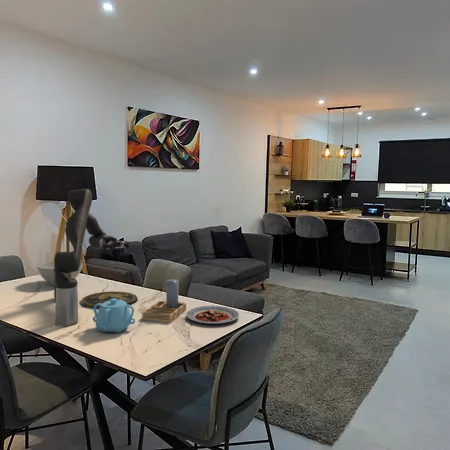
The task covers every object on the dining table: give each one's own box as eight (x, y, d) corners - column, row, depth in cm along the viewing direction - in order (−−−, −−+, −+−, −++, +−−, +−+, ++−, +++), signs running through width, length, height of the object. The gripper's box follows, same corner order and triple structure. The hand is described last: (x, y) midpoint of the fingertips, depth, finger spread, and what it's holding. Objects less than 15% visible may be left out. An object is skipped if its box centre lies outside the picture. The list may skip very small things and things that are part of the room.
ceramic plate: (217, 331, 182) (217, 325, 182) (175, 319, 198) (175, 313, 197) (249, 317, 203) (249, 311, 203) (209, 306, 218) (209, 301, 218)
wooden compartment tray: (171, 322, 192) (171, 315, 192) (142, 319, 196) (142, 312, 195) (186, 310, 211) (186, 303, 211) (159, 307, 215) (159, 300, 215)
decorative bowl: (74, 276, 279) (74, 259, 278) (89, 284, 258) (89, 265, 257) (32, 282, 262) (31, 263, 261) (45, 291, 241) (44, 271, 240)
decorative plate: (127, 307, 208) (70, 304, 211) (127, 311, 208) (70, 308, 211) (144, 292, 238) (94, 290, 241) (144, 295, 238) (94, 293, 241)
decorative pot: (91, 326, 186) (90, 297, 184) (125, 320, 194) (125, 292, 193) (100, 338, 172) (99, 306, 171) (137, 331, 180) (137, 301, 179)
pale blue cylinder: (175, 312, 204) (176, 282, 202) (164, 310, 205) (164, 281, 204) (179, 308, 209) (180, 280, 208) (168, 307, 211) (169, 278, 209)
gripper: (95, 236, 219) (107, 240, 206) (121, 235, 227) (133, 238, 214) (96, 250, 219) (107, 255, 207) (121, 248, 228) (133, 252, 215)
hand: (120, 246), depth 211 cm, fingers open, 8 cm apart
